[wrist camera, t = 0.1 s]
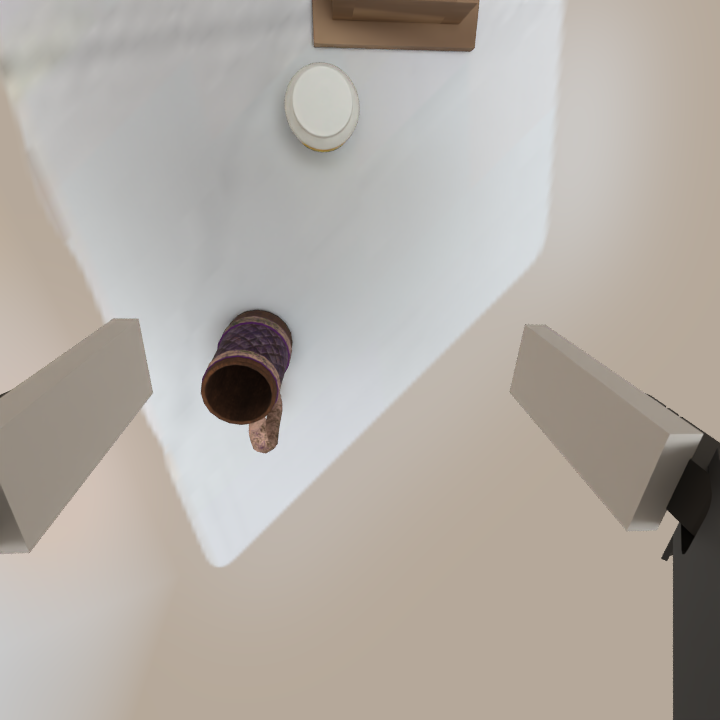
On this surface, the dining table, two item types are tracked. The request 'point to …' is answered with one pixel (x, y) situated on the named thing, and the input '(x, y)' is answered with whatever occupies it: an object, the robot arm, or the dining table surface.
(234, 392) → the mug
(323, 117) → the supplement bottle
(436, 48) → the walnut caddy
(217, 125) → the dining table surface
